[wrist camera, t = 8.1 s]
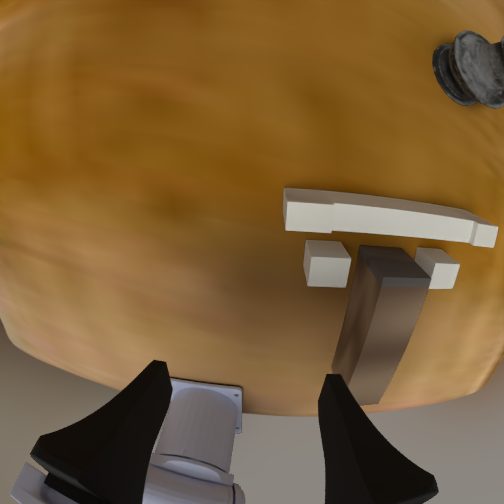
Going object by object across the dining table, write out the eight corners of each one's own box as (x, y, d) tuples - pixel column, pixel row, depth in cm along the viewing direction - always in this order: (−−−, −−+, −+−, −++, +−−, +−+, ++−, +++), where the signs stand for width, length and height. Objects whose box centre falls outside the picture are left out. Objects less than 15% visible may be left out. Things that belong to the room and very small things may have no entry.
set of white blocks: (449, 271, 19) (476, 298, 15) (278, 264, 20) (280, 297, 16) (464, 209, 17) (498, 227, 13) (283, 187, 18) (287, 201, 13)
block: (365, 364, 23) (377, 403, 19) (331, 365, 23) (339, 407, 19) (401, 247, 19) (431, 278, 14) (359, 245, 19) (383, 277, 14)
